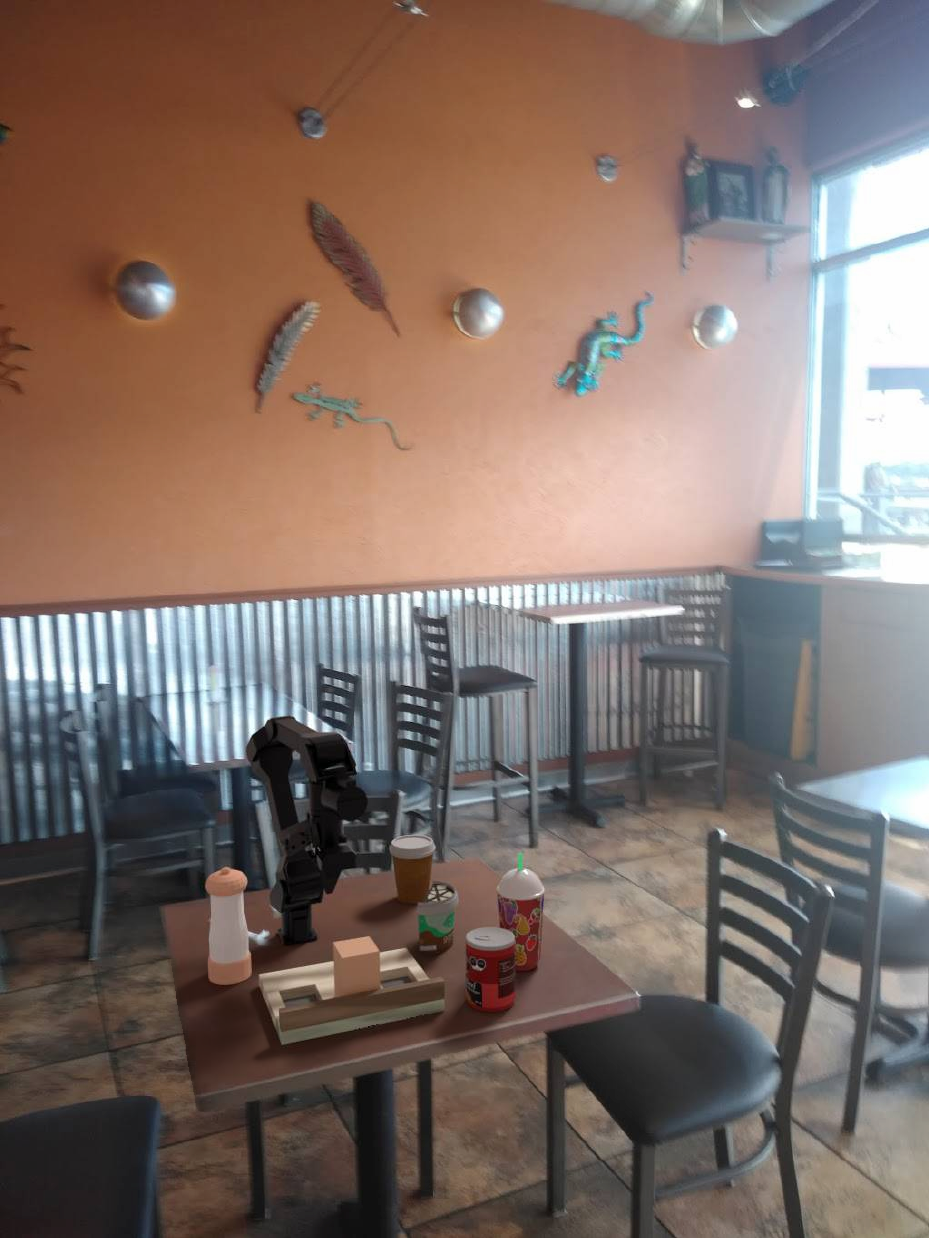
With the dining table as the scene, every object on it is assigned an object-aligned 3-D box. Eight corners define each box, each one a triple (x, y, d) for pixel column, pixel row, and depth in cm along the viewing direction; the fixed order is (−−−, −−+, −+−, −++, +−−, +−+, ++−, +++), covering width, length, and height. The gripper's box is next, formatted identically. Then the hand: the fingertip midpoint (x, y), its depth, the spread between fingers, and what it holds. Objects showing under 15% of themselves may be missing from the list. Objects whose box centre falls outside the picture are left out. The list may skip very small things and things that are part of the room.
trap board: (259, 985, 164) (258, 957, 164) (406, 958, 174) (405, 931, 173) (281, 1044, 146) (280, 1013, 145) (444, 1010, 155) (444, 980, 155)
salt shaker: (238, 987, 164) (233, 877, 162) (200, 981, 166) (195, 873, 164) (259, 968, 171) (255, 862, 169) (222, 963, 173) (218, 858, 171)
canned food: (464, 991, 162) (463, 927, 160) (512, 988, 162) (511, 925, 161) (468, 1014, 154) (467, 947, 153) (518, 1011, 155) (518, 945, 153)
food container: (451, 960, 173) (450, 906, 172) (418, 957, 174) (416, 903, 173) (465, 931, 185) (464, 880, 184) (433, 929, 186) (433, 878, 185)
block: (334, 996, 156) (332, 942, 155) (370, 989, 158) (369, 935, 158) (343, 1013, 151) (342, 957, 150) (381, 1006, 153) (379, 951, 152)
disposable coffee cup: (418, 910, 195) (417, 852, 194) (380, 900, 200) (379, 844, 199) (445, 894, 203) (444, 838, 202) (408, 885, 208) (407, 831, 207)
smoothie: (551, 958, 173) (551, 849, 171) (535, 978, 165) (534, 865, 163) (508, 950, 176) (507, 843, 174) (490, 969, 169) (488, 858, 167)
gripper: (269, 798, 175) (272, 882, 176) (290, 827, 157) (293, 920, 159) (330, 790, 179) (332, 873, 180) (357, 819, 161) (360, 910, 163)
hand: (328, 893), depth 170 cm, fingers closed
